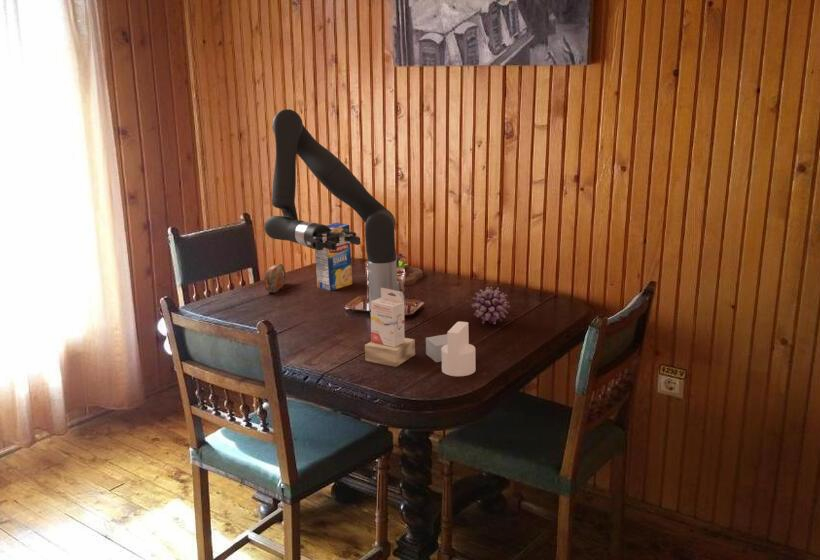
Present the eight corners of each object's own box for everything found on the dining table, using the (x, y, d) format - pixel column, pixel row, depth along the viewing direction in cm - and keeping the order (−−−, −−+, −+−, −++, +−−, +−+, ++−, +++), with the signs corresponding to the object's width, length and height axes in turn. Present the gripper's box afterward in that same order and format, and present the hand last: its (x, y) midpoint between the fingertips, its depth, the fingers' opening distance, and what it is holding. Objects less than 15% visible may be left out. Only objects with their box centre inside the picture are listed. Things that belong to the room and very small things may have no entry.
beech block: (385, 350, 234) (384, 333, 232) (415, 356, 229) (414, 339, 227) (365, 361, 226) (364, 344, 224) (395, 368, 221) (395, 351, 219)
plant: (380, 270, 316) (379, 242, 313) (428, 273, 309) (427, 245, 306) (359, 284, 298) (357, 254, 295) (408, 288, 291) (408, 258, 288)
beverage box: (317, 287, 294) (313, 228, 288) (339, 280, 302) (336, 222, 296) (329, 291, 290) (326, 230, 284) (352, 284, 297) (349, 225, 291)
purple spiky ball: (473, 330, 246) (472, 293, 242) (470, 317, 257) (470, 281, 254) (511, 330, 246) (511, 292, 242) (507, 317, 257) (507, 280, 254)
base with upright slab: (469, 378, 212) (469, 334, 208) (437, 373, 215) (436, 331, 212) (479, 365, 220) (479, 323, 216) (448, 361, 223) (447, 320, 220)
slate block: (448, 350, 231) (448, 333, 230) (459, 358, 225) (459, 341, 224) (426, 354, 229) (425, 337, 228) (436, 363, 223) (435, 345, 221)
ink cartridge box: (370, 341, 226) (368, 290, 222) (381, 337, 230) (380, 286, 226) (394, 347, 221) (393, 295, 217) (405, 342, 225) (404, 291, 221)
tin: (272, 295, 287) (270, 272, 284) (263, 295, 287) (261, 272, 285) (286, 283, 301) (285, 261, 298) (278, 283, 301) (276, 261, 299)
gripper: (292, 227, 236) (326, 235, 224) (331, 219, 245) (366, 226, 234) (294, 252, 238) (328, 261, 226) (333, 243, 247) (367, 252, 236)
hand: (347, 243), depth 230 cm, fingers open, 8 cm apart
